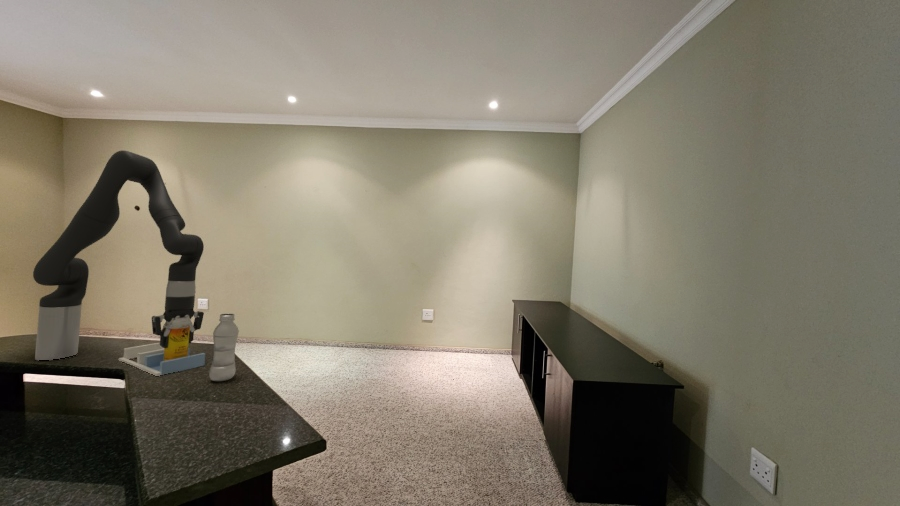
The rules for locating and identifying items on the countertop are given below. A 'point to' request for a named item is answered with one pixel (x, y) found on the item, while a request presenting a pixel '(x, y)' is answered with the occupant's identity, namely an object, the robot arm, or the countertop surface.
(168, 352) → the beer can
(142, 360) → the rack
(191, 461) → the countertop surface
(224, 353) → the plastic bottle
